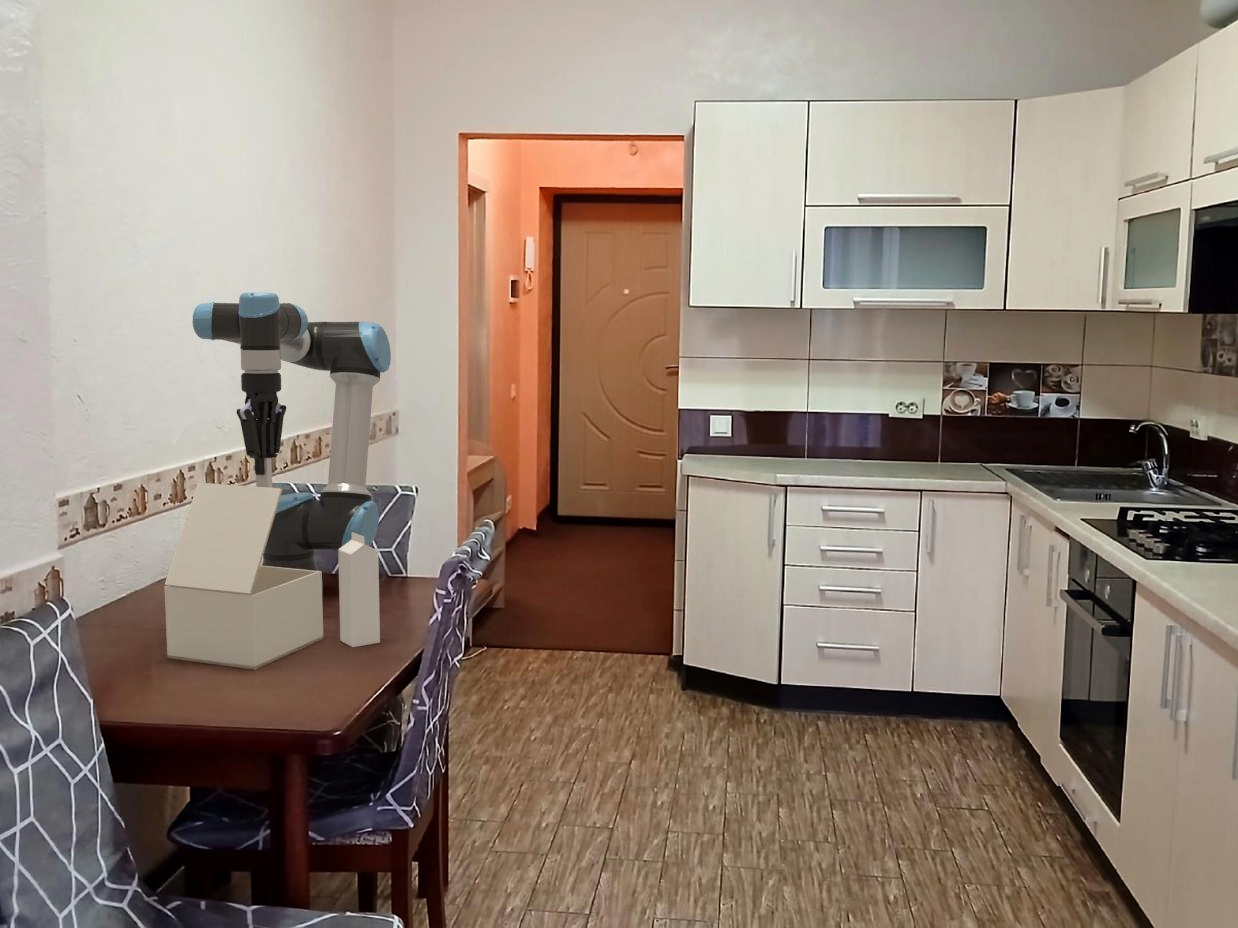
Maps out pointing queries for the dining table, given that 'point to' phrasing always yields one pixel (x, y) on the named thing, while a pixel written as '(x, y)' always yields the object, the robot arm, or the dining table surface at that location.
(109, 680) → the dining table surface
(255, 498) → the flap
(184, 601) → the carton
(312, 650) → the dining table surface
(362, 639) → the milk
